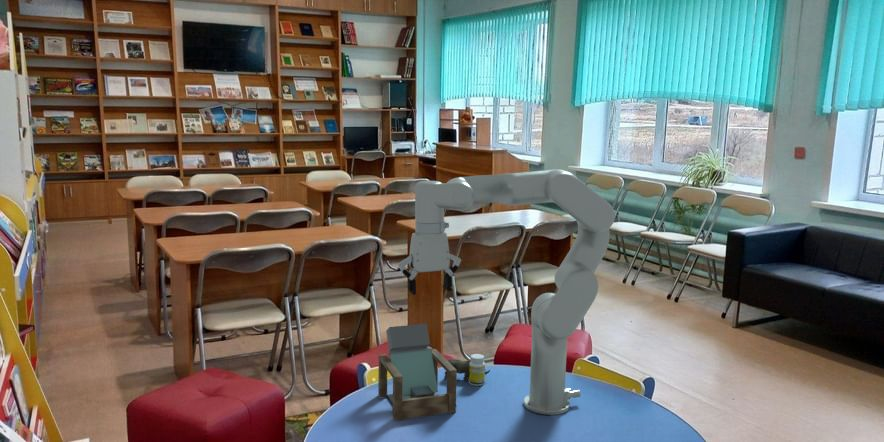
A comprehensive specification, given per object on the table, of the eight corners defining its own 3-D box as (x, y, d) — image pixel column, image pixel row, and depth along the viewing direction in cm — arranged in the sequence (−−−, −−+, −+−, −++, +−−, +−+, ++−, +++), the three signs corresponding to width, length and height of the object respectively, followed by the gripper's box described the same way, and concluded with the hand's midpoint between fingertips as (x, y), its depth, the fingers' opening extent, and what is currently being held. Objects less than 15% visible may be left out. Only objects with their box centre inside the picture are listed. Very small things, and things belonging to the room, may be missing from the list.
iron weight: (427, 385, 188) (433, 392, 183) (427, 402, 189) (433, 410, 184) (410, 387, 186) (415, 395, 181) (410, 405, 187) (415, 412, 182)
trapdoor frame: (435, 388, 200) (435, 348, 198) (455, 412, 184) (456, 370, 182) (378, 395, 194) (378, 354, 193) (394, 421, 179) (395, 377, 177)
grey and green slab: (425, 327, 199) (429, 323, 196) (436, 392, 192) (440, 390, 189) (383, 331, 195) (386, 327, 192) (393, 398, 188) (396, 395, 185)
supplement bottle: (470, 379, 207) (471, 352, 206) (486, 381, 206) (486, 354, 205) (467, 385, 203) (467, 358, 201) (482, 387, 202) (483, 359, 200)
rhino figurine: (489, 382, 205) (490, 363, 204) (443, 379, 206) (444, 361, 205) (490, 377, 209) (490, 358, 208) (445, 374, 210) (445, 356, 209)
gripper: (455, 224, 186) (455, 285, 189) (393, 228, 180) (394, 291, 183) (465, 228, 179) (465, 292, 182) (402, 232, 173) (403, 298, 176)
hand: (430, 291), depth 182 cm, fingers open, 9 cm apart
